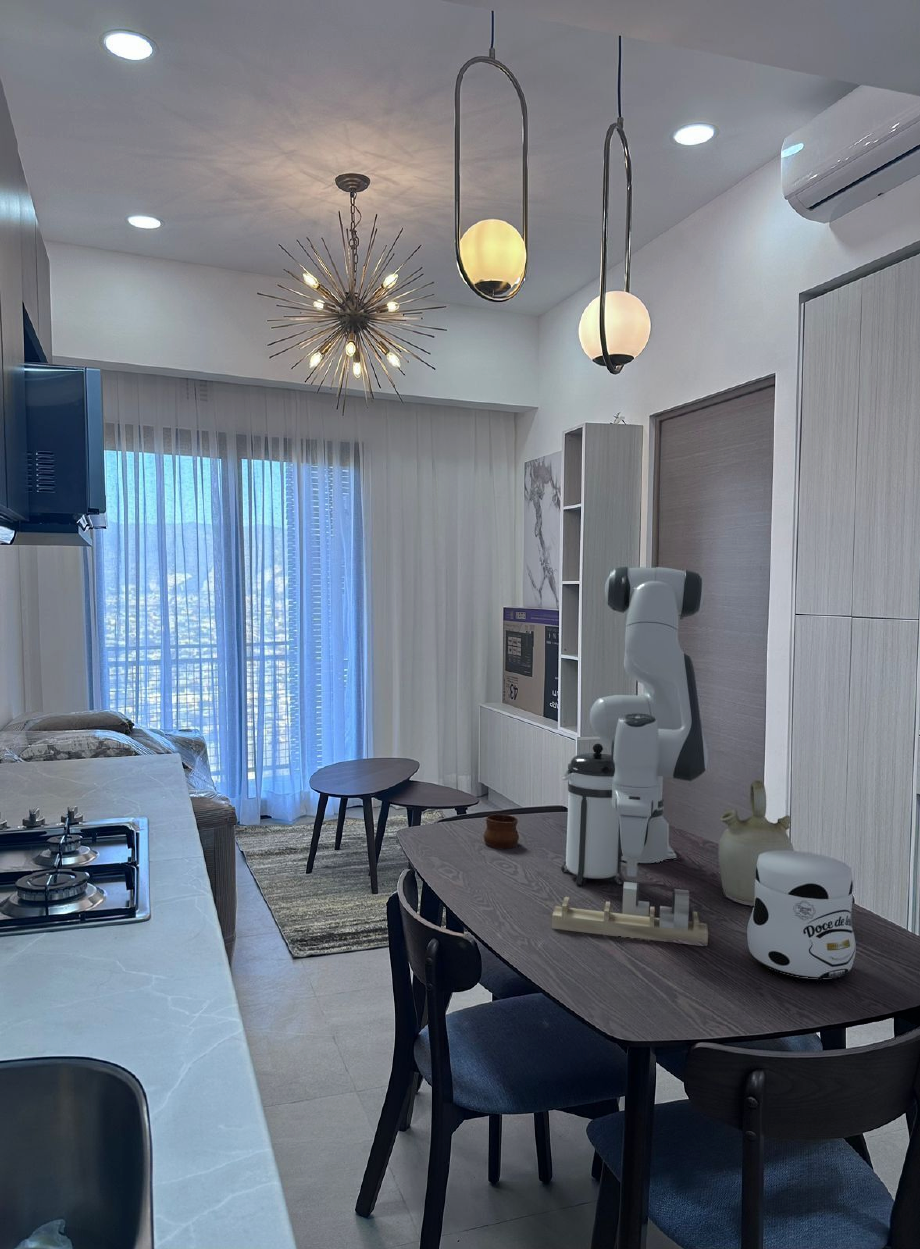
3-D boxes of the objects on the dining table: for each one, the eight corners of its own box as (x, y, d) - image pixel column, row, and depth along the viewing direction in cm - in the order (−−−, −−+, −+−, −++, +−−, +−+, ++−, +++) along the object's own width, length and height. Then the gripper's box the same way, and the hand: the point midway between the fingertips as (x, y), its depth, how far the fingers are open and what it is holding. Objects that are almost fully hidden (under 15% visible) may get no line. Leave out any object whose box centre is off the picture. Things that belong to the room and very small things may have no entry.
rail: (555, 918, 167) (556, 875, 167) (705, 936, 161) (708, 891, 160) (551, 928, 162) (553, 883, 162) (707, 947, 156) (709, 900, 156)
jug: (709, 902, 180) (714, 782, 179) (723, 881, 193) (729, 770, 193) (787, 917, 173) (793, 792, 172) (796, 894, 186) (802, 779, 185)
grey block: (622, 911, 172) (624, 881, 172) (648, 914, 171) (649, 884, 171) (622, 918, 169) (623, 888, 168) (648, 921, 167) (649, 890, 167)
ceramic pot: (456, 836, 223) (458, 808, 222) (521, 833, 228) (523, 807, 227) (478, 858, 205) (479, 829, 205) (547, 855, 210) (549, 827, 210)
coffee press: (611, 895, 182) (617, 752, 181) (546, 877, 191) (551, 742, 190) (647, 875, 195) (653, 743, 194) (584, 860, 205) (589, 734, 204)
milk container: (848, 999, 137) (854, 886, 137) (736, 972, 146) (741, 866, 145) (858, 960, 152) (863, 859, 152) (756, 938, 161) (760, 842, 160)
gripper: (620, 786, 180) (618, 853, 180) (616, 807, 160) (613, 881, 160) (651, 789, 179) (649, 856, 179) (651, 810, 159) (648, 885, 159)
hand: (632, 868), depth 169 cm, fingers open, 8 cm apart
